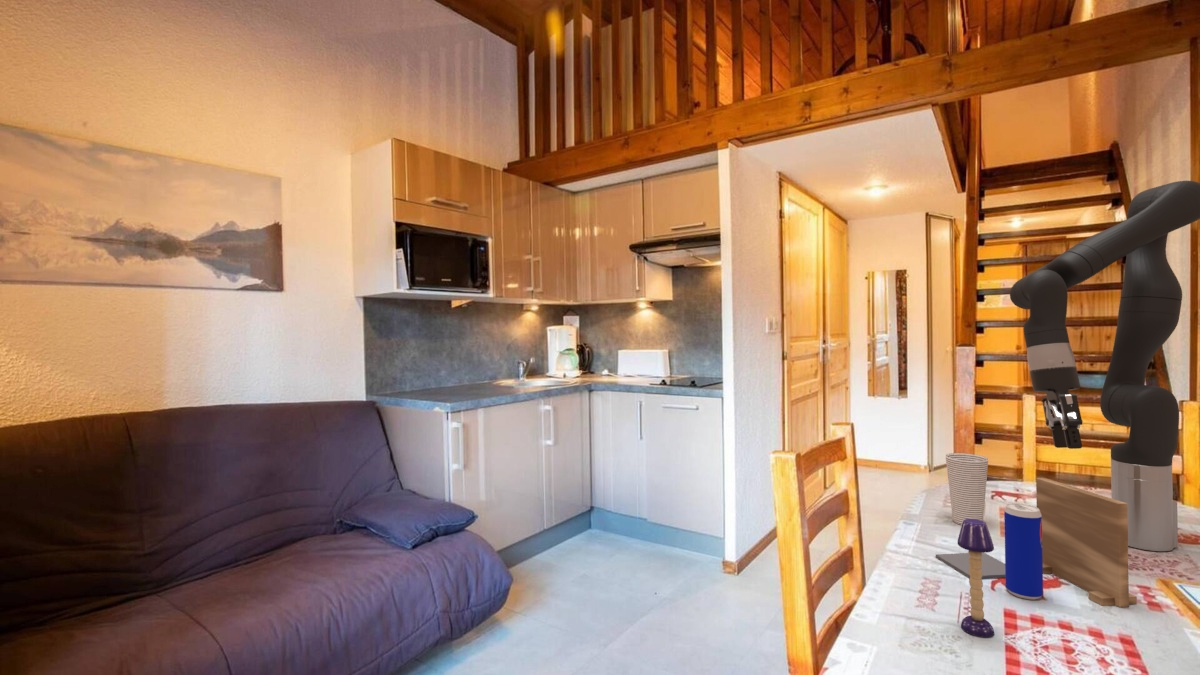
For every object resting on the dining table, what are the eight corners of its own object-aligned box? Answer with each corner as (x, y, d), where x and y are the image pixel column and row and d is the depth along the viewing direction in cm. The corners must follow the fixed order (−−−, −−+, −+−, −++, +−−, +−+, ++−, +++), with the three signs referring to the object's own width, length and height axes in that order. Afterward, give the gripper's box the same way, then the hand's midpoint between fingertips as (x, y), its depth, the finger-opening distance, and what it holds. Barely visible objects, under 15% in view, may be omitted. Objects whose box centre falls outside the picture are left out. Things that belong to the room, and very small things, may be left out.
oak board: (1056, 565, 107) (1055, 477, 107) (1141, 606, 91) (1140, 502, 91) (1026, 566, 107) (1025, 478, 106) (1106, 608, 91) (1105, 504, 91)
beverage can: (1049, 601, 93) (1048, 512, 93) (1015, 599, 94) (1013, 511, 94) (1032, 587, 98) (1031, 503, 98) (999, 585, 99) (998, 502, 99)
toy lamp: (951, 622, 88) (949, 516, 87) (979, 620, 88) (977, 515, 88) (974, 639, 83) (972, 527, 83) (1004, 636, 83) (1002, 525, 83)
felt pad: (983, 555, 112) (983, 552, 112) (1023, 576, 102) (1023, 573, 102) (935, 557, 112) (935, 554, 112) (971, 579, 102) (971, 576, 102)
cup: (950, 526, 129) (949, 459, 128) (943, 515, 136) (942, 452, 136) (994, 530, 125) (993, 462, 125) (984, 518, 133) (983, 454, 133)
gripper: (1087, 361, 106) (1105, 448, 103) (1064, 369, 119) (1080, 446, 116) (1038, 365, 109) (1054, 449, 106) (1021, 372, 122) (1035, 447, 119)
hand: (1068, 448), depth 111 cm, fingers open, 8 cm apart
